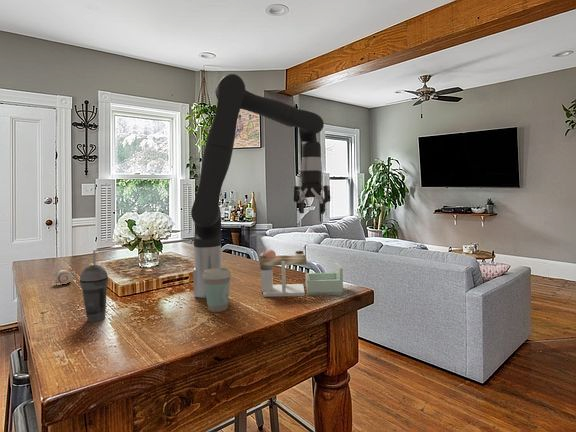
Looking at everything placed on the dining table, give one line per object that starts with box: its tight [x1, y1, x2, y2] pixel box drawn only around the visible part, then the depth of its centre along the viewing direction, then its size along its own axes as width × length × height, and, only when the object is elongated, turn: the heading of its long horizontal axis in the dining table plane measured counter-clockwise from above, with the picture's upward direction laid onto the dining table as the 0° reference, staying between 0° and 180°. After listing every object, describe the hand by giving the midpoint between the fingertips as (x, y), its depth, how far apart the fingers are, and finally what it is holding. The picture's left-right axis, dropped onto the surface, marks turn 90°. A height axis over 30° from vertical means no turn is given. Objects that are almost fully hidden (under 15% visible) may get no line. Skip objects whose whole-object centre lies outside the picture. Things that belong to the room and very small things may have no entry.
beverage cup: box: [79, 249, 109, 323], centre depth 104 cm, size 7×7×20 cm
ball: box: [264, 249, 277, 259], centre depth 128 cm, size 4×4×4 cm
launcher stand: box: [259, 261, 306, 298], centre depth 128 cm, size 15×12×12 cm
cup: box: [305, 261, 344, 297], centre depth 129 cm, size 12×12×9 cm
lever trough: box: [259, 250, 307, 270], centre depth 131 cm, size 16×13×5 cm
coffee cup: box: [202, 267, 232, 313], centre depth 110 cm, size 8×9×12 cm
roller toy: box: [53, 269, 73, 284], centre depth 148 cm, size 4×6×6 cm
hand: (311, 213), depth 136 cm, fingers open, 8 cm apart
